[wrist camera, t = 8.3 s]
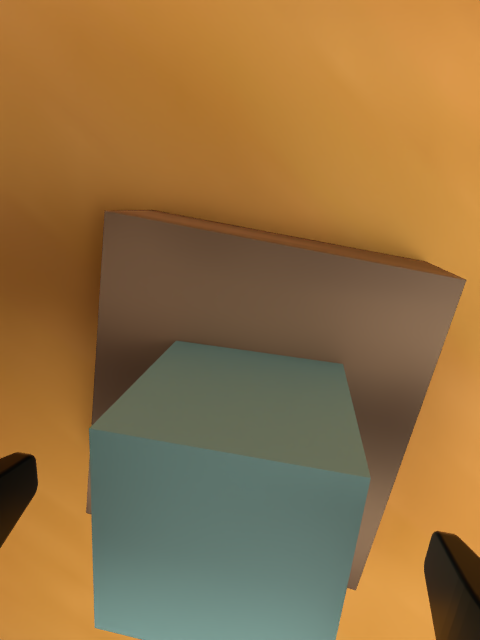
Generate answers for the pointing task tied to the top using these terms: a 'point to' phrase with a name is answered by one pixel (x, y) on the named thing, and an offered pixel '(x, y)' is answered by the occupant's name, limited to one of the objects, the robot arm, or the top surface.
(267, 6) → the top surface
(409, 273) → the walnut block
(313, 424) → the teal cube
